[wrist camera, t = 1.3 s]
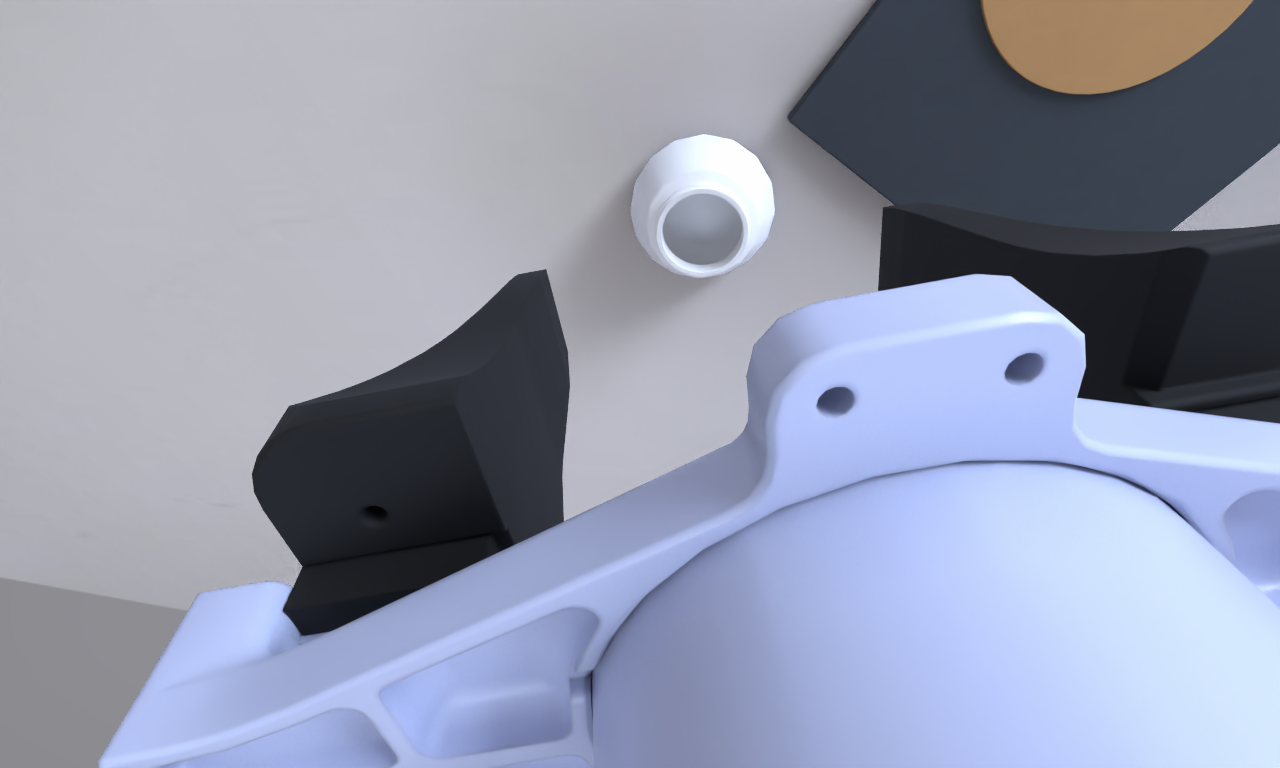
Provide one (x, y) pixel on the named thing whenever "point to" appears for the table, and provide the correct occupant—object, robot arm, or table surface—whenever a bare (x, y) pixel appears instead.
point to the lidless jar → (702, 206)
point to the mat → (1053, 105)
